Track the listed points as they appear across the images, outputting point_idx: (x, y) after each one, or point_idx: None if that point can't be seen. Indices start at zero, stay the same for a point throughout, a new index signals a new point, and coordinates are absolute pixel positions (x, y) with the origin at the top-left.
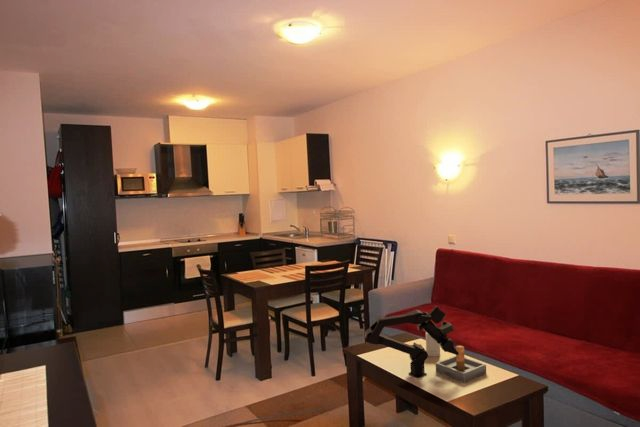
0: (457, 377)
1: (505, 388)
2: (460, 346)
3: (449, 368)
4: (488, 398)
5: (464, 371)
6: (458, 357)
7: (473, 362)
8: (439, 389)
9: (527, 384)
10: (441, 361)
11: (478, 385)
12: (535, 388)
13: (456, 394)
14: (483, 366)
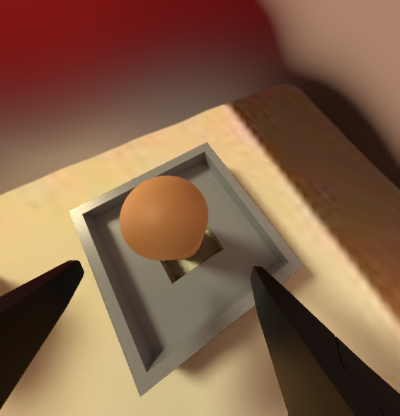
0: None
1: (309, 154)
2: (150, 203)
3: (233, 321)
4: (388, 224)
5: (224, 237)
6: (196, 250)
7: (164, 175)
8: None
9: (280, 102)
10: (126, 340)
11: (295, 219)
12: (301, 97)
13: (386, 333)
14: (215, 155)
